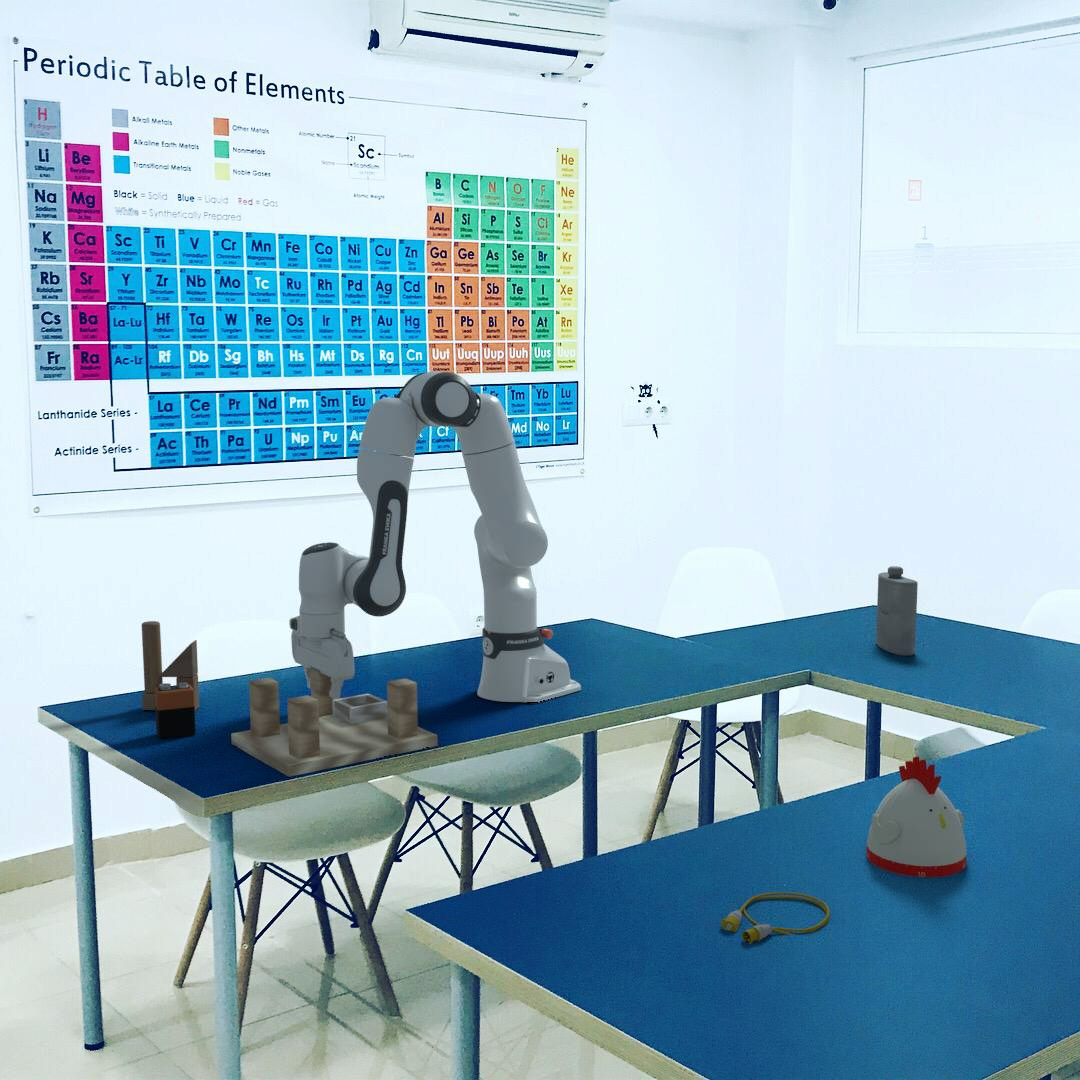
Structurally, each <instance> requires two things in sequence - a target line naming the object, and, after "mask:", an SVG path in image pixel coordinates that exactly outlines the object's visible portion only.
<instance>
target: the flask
mask: <svg viewBox="0 0 1080 1080" xmlns="http://www.w3.org/2000/svg"><path fill="white" fill-rule="evenodd" d="M902 575H904V568H903V567H901V566H897V565H895V566H889V567H888V568H887V571H885V572H880V573H878V575H877V577H878V578H877V606H876V607H877V609H876V630H875V631H876V632H875V633H876V635H875V644H876V645H877V646H878V647H879V648H880V649H882V650H883V651H885V652H887V653H889V654H890V653H891V654H893V655H897V656H902V657H904V656H906V657H910V656H913V655H915V653H916V641H917V640H916V635H917V610H918V609H917V608H918V606H917V605H918V581H916V580H914V579H911V578H907V577H906V576H905V577H904V576H902Z"/></svg>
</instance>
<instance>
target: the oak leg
mask: <svg viewBox="0 0 1080 1080" xmlns="http://www.w3.org/2000/svg"><path fill="white" fill-rule="evenodd" d="M310 671H311V689H310V696H311V697H313V698H315V699H317V700H318V702H319V717H324V716H329V715H333V711H332V700H334V699H332V698H330V697H329V689H331V686H332V682H331V677H329V676H326V675H324V674H322V673H320V670H319V669H316V668H314V667H312V666H310Z"/></svg>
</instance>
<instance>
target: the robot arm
mask: <svg viewBox="0 0 1080 1080" xmlns="http://www.w3.org/2000/svg"><path fill="white" fill-rule="evenodd" d="M427 427H433V428H439V427H446V428H447V427H448V428H452V429H453V430H454V432H455V434H456V435H457V438H458V439H459V440H458V441H459V445H460V450H461V454H462V459H463V463H464V466H465V467H464V468H465V471H466V475H467V478H468V483H469V488H470V491H471V493H472V495H473V496H474V499H475V501H476V503H477V505H478V508H479V510H480V513H481V515H480V516H478V518H477V520H476V522H475V525H474V527H473V533H474V535H473V536H474V539H475V542H476V545H477V546H476V547H477V553H478V554H477V555H478V562H479V563H478V564H479V569H480V576H481V580H482V581H481V582H482V589H483V614H484V615H483V617H484V618H483V621H484V622H483V623H484V625H483V628H482V635H481V637H482V638H481V639H482V641H481V642H482V643H481V645H482V654H483V660H482V668H481V674H480V675H481V677H480V682H479V686H478V690H477V691H476V693H477V694H476V695H477V696H478V697H479V698H482V699H485V700H490V701H492V702H493V701H495V702H504V703H505V702H506V703H527V702H538V703H541V702H540V701H542V702H544V701H543V700H545V701H549V700H552V699H555V697H556V698H558V697H563V696H565V695H570V694H572V693H575V692H579V691H581V690H582V686H581V684H580V683H579V682H578V681H576V680H575V679H572V678H571V674H570V672H571V671H570V668H569V664H568V662H567V661H566V659H565V658H563V656H561V655H560V654H558V653H557V652H555V651H554V650H553V649H551V647H549V646H548V645H546V644H545V642H544V639H543V638H545V639H547V640H550V639H552V637H553V636H554V632H553V630H552V629H550V628H549V629H548V628H540V627H539V626H538V625H537V624H538V623H537V622H538V616H537V615H538V612H537V611H538V607H537V606H538V602H537V601H538V600H537V598H538V596H537V588H536V586H535V583H534V578H533V574H532V570H531V567H532V566H535V565H537V564H538V563H540V561H542V559H543V558H544V557H545V555H546V553H547V551H548V545H549V543H548V542H549V539H548V535H547V533H546V531H545V529H544V527H543V526H542V524H541V521H540V518H539V515H538V512H537V509H536V507H535V504H534V502H533V499H532V497H531V494H530V492H529V490H528V487H527V484H526V481H525V479H524V476H523V475H524V474H523V472H522V467H521V464H520V459H519V455H518V450H517V447H516V441H515V439H514V434H513V431H512V427H511V424H510V422H509V419H508V416H507V414H506V412H505V409H504V407H503V405H502V402H501V400H500V399H499V398H498V397H496V396H495V395H493V394H489V393H483V392H481V393H477V391H476V390H475V389H473V388H472V386H471V385H470V383H469V381H467V380H466V379H465V378H463V377H462V376H461V375H459V374H457V373H455V372H449V371H442V370H433V371H432V370H430V371H428V372H422V373H418V374H416V375H414V376H412V377H411V378H409V379H408V380H407V381H406V383H405V384H404V385H403V387H402V388H401V390H399V391H398V393H397V394H396V395H395V396H394V397H384V398H380V399H377V401H375V402H374V403H373V404H372V406H371V408H370V410H369V412H368V415H367V417H366V420H365V423H364V427H363V430H362V434H361V438H360V441H359V448H358V454H357V460H356V481H357V484H358V486H359V488H360V490H362V492H363V494H364V495H365V498H367V500H368V503H369V505H370V507H371V511H372V518H373V520H372V531H371V539H370V547H369V556H364V555H360V554H357V553H355V552H352V551H349V550H348V549H346V548H344V547H342V546H341V545H340V544H339V543H337V542H329V541H328V542H321V543H315V544H313V545H311V546H309V547H306V548H305V549H304V550H303V551H302V553H301V556H300V559H299V567H298V568H299V569H298V591H299V594H300V605H299V611H298V613H299V615H297V616H295V617H291V618H290V619H289V621H288V622H289V629H291V637H290V638H291V639H290V640H291V653H292V658H293V660H294V663H296V664H298V665H300V666H303V673H304V675H305V677H306V683H307V685H306V686H307V688H308V689H310V690H311V671H310V666H312V667H314V668H316V669H319V670H320V673H322V674H324V675H326V676H329V677H331V682H332V686H331V689H329V697H330V698H332V699H340V698H341V690H342V687H343V686H344V683H345V682H344V681H345V680H347V681H348V680H351V679H353V678H354V676H355V672H356V671H355V658H354V650H353V646H352V642H351V641H350V640H349V639H348V637H347V635H346V633H345V632H346V625H345V624H346V623H345V622H346V621H345V619H346V617H345V607H346V606H347V605H350V604H354V606H355V605H356V606H357V607H359V608H360V609H361V610H362V611H363V612H364V613H365V614H368V615H369V616H371V617H385V616H388V615H389V616H390V614H392V613H394V612H395V611H398V609H399V608H400V607H401V605H402V603H403V602H404V600H405V597H406V592H407V584H406V579H405V575H404V570H403V555H404V545H405V544H404V543H405V536H406V526H407V519H408V518H407V516H408V502H409V490H410V483H411V477H412V473H413V466H414V461H415V459H414V458H415V456H416V454H415V453H416V447H417V442H418V441H419V437H420V435H421V433H422V432H423V431H424V429H426V428H427ZM551 698H552V699H551ZM548 699H549V700H548Z"/></svg>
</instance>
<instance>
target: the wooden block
mask: <svg viewBox="0 0 1080 1080" xmlns="http://www.w3.org/2000/svg"><path fill="white" fill-rule="evenodd" d="M161 634H162V633H161V623H160V621H156V620H149V621H144V622H142V623H141V639H142V640H141V642H142V643H141V644H142V659H143V660H142V661H143V663H142V664H143V680H144V681H143V683H144V692H143V693H142V694H141V704H142V711H143V710H155V688H158V687H160V684H164V681H163V678H175V681H176V682H175V683H176V685H175V686H177V685H179V683H184V682H186V683H188V685H190V686H191V687H192V688H193V690H194V704H195V711H197V710H198V709H199V708H198V707H200V694H199V693H200V690H199V668H198V666H199V665H198V642H197V640H196V639H195V640H194V641H192V642H190V643H189V645H188V646H186V647H185V649H184V650H183V651H182V652H180V654H179V655H178V656H177V657H176V658H175V659H174V660H173V661H172V662H170V664H169V665H168V666H167V667H166V668H165V669H164V670H163V661H162V658H163V657H162V639H161V638H162V637H161ZM197 708H198V709H197Z"/></svg>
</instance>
